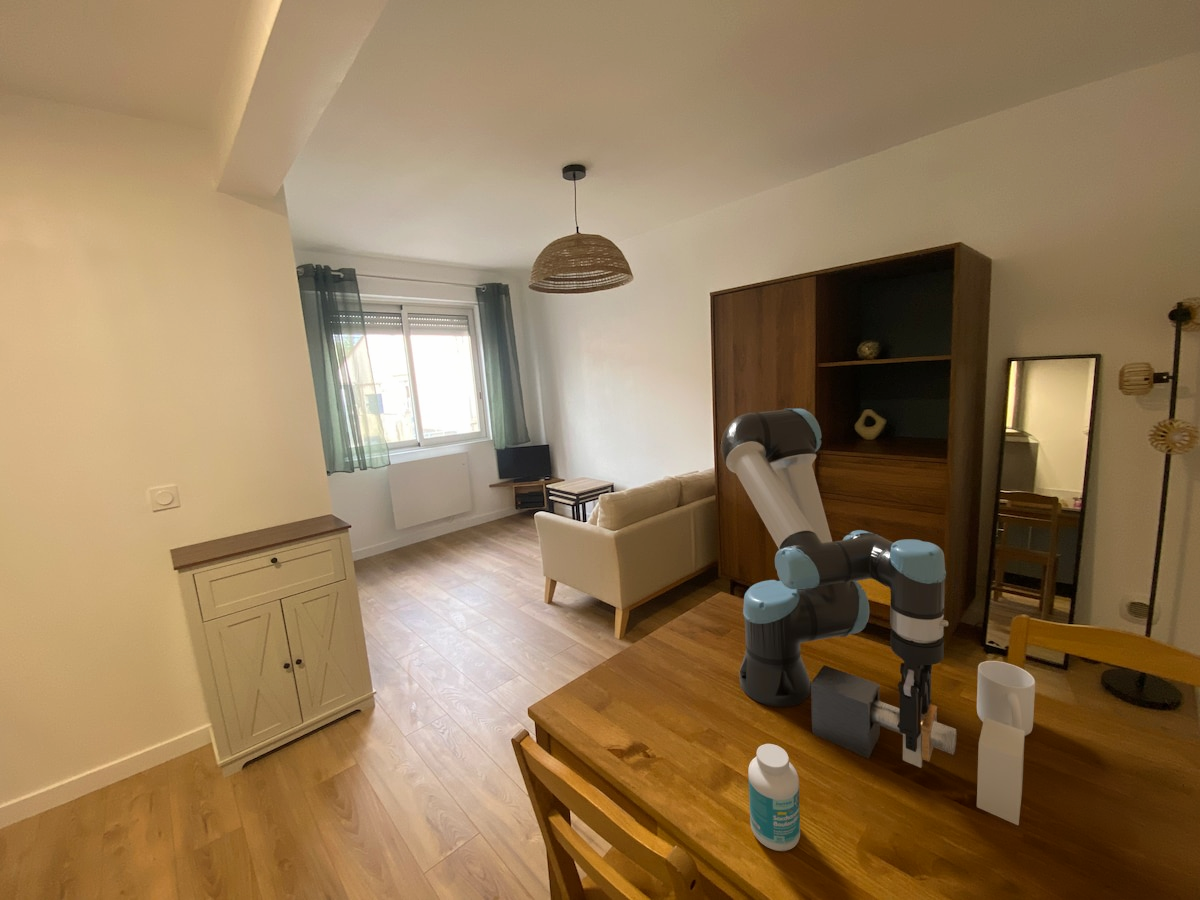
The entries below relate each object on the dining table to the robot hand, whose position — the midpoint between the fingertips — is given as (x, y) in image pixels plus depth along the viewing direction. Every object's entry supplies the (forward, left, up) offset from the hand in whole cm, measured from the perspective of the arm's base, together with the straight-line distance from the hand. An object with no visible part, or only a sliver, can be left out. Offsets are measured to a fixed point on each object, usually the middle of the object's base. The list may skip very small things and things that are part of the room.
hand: (915, 753), depth 84 cm
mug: (+11, +19, -2) cm, 22 cm away
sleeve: (-12, 0, -2) cm, 12 cm away
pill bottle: (-14, -27, -2) cm, 30 cm away
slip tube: (-5, 0, +2) cm, 5 cm away
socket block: (+11, 0, -2) cm, 12 cm away
